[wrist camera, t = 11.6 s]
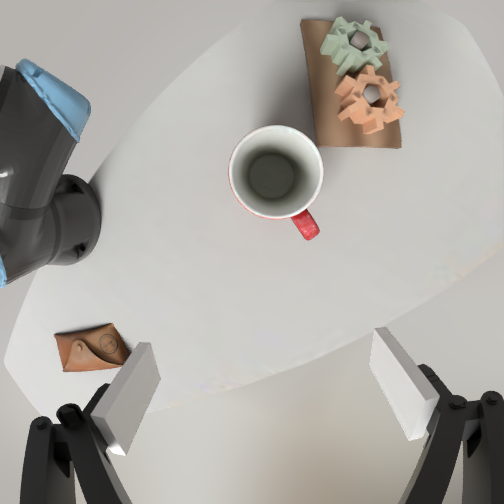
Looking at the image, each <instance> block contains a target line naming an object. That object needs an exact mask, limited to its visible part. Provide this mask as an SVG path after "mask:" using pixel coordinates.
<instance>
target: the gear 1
mask: <svg viewBox="0 0 504 504" xmlns="http://www.w3.org/2000/svg"><path fill="white" fill-rule="evenodd" d="M371 24H372V23H371V22H370V21H368V20H365V21H364V23H363V24H362V25H361V24H359V23H357V22H356V21H354V22H351V23H348V22H347V21H346V20H345V19H344V18H343V17H342V16H341V17H338V18H336V20H335V22H334V24H333V26H332V28H331V30H330V32H329V34H327V36H326V38H325V40H324V42H323V44H322V46H321V48H320V52H321V55H331V59H332V62H333V63H335V64H337V65H338V66H339V68H338V70H337V72H336V74H338V75H340V76H343V75H344V74H345V73H346V71H347V70H348V71H349V72H351V73H355V72H357V71H361V70H362V69H363V68H364V67H365V66H366V65H372V66H374V71H376V70H377V69H378V68H380V67H381V66H382V63H381V62H380V61H379V58H380V57H381V56H382V55H383V54H384V53H385V52H386V51H387V50H388V49H389V48H390V47H389V43H388V42H385V41H380V40H379V39H378V35H377V33H375V32H374V31H372V30H370V26H371ZM358 31H361V32H364V33H365V34H367V35H368V37H369V41H368V43H367V44H366V45H365V46H364V48H363V49H362V50H361V51H360V50H358V49H356V48H354V47H353V46H351V45H349V42H350V40H351V39H352V38H353V36H354V35H355V33H356V32H358Z"/></svg>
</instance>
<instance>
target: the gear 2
mask: <svg viewBox="0 0 504 504" xmlns="http://www.w3.org/2000/svg"><path fill="white" fill-rule="evenodd" d="M368 86H375V87H376V88H378V90H379V91H380V98H379V99H378V100H376V101H375V102H373V103H374V105H375V106H374V107H370V105H369V104H368V102H367V101H366V100H365V98H364V97H363V95H362V93H363V91H364V90H365V89H366V88H367V87H368ZM399 87H400V85H399V83H398V82H397V80H396V81H394V82H392V83H390V84H389V83H388V82H387V80H386V79H385V78H384V76H376V75H375V71H374V66H372V65H366V66H365V67H364V68H363V69H362V70H361V71H360V72H359V73H358V74H357V75H356V76H355V79H353V78H351V77H349V76H347V75H346V76H345V77H344V78H343V80H342V81H341V82H340V83H339V84H338V85H337V87H336V89H335V91H334V92H335V93H337V94H339V95H341V96H343V99H342V101H341V103H340V104H341V105H342V107H343V108H344V110H343V111H342V112H341V113H340V114H338V115H337V116H338V117H339V119H340V120H341V121H343V120H344V119H346V118H348V117H350V118H351V120H352V121H353V123H354V124H362V126H363V134H372V133H374V132H377V131H379V130H382V129H384V126H383V121H384V122H386V123H389V122H392V121H394V120H397V119H399V118H401V117H403V115H404V112H405V111H404V110H403V109H401V108H400V107H398V106H397V105H396V103H397V101H398V96H397V95H396V93H395V92H394V90H395V89H397V88H399Z"/></svg>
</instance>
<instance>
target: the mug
mask: <svg viewBox="0 0 504 504" xmlns="http://www.w3.org/2000/svg"><path fill="white" fill-rule="evenodd" d="M228 175H229V182H230V186H231V189H232V191H233V193H234V195H235V197H236V198H237V200H238V201H239V202H240V203H241V205H242V206H244V207H245V208H246V209H247V210H248V211H250V212H251V213H253V214H255V215H257V216H260V217H263V218H267V219H285V218H289V217H291V219H292V220H293V222H294V223H295V225H296V226H297V228H298V229H299V231H300V232H301V234H302V235H303V237H304V238H305V239H306V240H311V239H312V238H314V237H315V236H316V235H318V234H319V231H320V230H319V227H318V226H317V224H316V222H315V221H314V219H313V218H312V216H311V214H310V213H309V212H308V210H307V208H308V207H309V206H310V205H311V204H312V203H313V201H314V200H315V199H316V197H317V196H318V194H319V192H320V190H321V187H322V183H323V178H324V166H323V161H322V157H321V155H320V152H319V150H318V148H317V147H316V146H315V144H314V143H313V142H312V141H311V139H310V138H309V137H307V136H306V135H305V134H303V133H302V132H300V131H299V130H296V129H294V128H292V127H288V126H283V125H270V126H265V127H261V128H258V129H256V130H254V131H252V132H250V133H249V134H247V135H246V136H245V137H244V138H243V139H242V140H241V141H240V142H239V143H238V144H237V146H236V147H235V149H234V151H233V153H232V155H231V158H230V161H229V168H228Z"/></svg>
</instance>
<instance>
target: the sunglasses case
mask: <svg viewBox="0 0 504 504" xmlns="http://www.w3.org/2000/svg"><path fill="white" fill-rule="evenodd" d="M54 337H55V338H56V341H57V345H58V350H59V354H60V358H61V362H62V366H63V369H64V370H63V372H81V371H93V370H103V369H111V368H117V367H122V366H123V365H124V363H125V362H126V361H127V359H128V358H129V356H130V353H129V351H128V349H127V348H126V346H125V344H124V342H123V341H122V339H121V337H120V335H119V333H118V332H117V330H116V329H115V327H114V324H112V323H110V324H107V325H105V326H102V327H99V328H96V329H92V330H87V331H82V332H77V333H71V334H62V335H59V334H56V335H54Z"/></svg>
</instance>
